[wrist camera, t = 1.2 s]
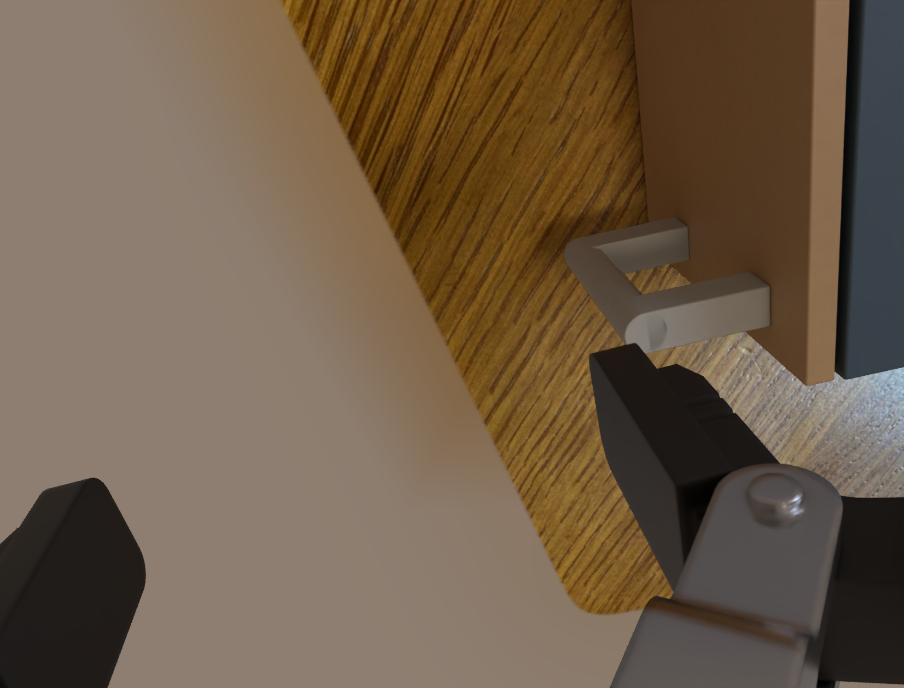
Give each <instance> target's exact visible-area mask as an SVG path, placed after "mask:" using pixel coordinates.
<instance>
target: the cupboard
mask: <svg viewBox="0 0 904 688" xmlns="http://www.w3.org/2000/svg"><path fill="white" fill-rule="evenodd" d="M902 367H904V0H849V23H848V48H847V73H846V98H845V122H844V147H843V172H842V196H841V221H840V246H839V271H838V295H837V320H836V345H835V370H834V371H835V372H836V373H837V374H839V375H840V376H841V377H842V378H843V379H852V378H856V377H861V376H865V375H870V374H875V373H879V372H884V371H888V370H893V369H897V368H902Z"/></svg>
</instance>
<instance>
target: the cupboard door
mask: <svg viewBox="0 0 904 688" xmlns="http://www.w3.org/2000/svg"><path fill="white" fill-rule="evenodd" d="M631 3H632V16H633V28H634V41H635V54H636V67H637V80H638V93H639V106H640V119H641V132H642V144H643V157H644V170H645V183H646V196H647V209H648V222H649V223H644V224H640V225H635V226H630V227H626V228H621V229H617V230H612V231H607V232H603V233H598V234H594V235H589V236H585V237H579V238H576V239H574V240H572V241H571V242H570V243H569V244H568V245H567V247H566V249H565V252H564V260H565V262H566V264H567V265H568V267H569V268H570V269H571V271H572V272H573V273H574V275H575V276H576V278H577V279H578V280H579V282H580V283H581V284H582V286H583V287H584V288H585V290H586V291H587V292H588V294H589V295H590V297H591V298H592V299H593V301H594V302H595V303H596V305H597V306H598V307H599V309H600V310H601V311H602V313H603V314H604V315H605V317H606V318H607V320H608V321H609V322H610V324H611V325H612V326H613V328H614V329H615V330H616V332H617V333H618V334H619V336H620V337H621V339H622V340H623V341H624V343H625V344H626V345H627V344H631V343H637V344H638V345H639V346H640V348H641V349H642V350H643V352H644V353H645V354H646V353H650V352H654V351H659V350H663V349H668V348H672V347H677V346H681V345H686V344H690V343H695V342H700V341H704V340H709V339H713V338H718V337H722V336H727V335H731V334H736V333H740V332H746V333H747V334H749V335H750V336H751V337H752V338H753V339H754V340H755V341H756V342H757V343H759V344H760V345H761V346H762V347H763V348H764V349H765V350H766V351H768V352H769V353H770V354H771V355H772V356H773V357H774V358H775V359H777V360H778V361H779V362H780V363H781V364H782V365H783V366H784V367H785V368H787V369H788V370H789V371H790V372H791V373H792V374H793V375H794V376H796V377H797V378H798V379H799V380H800V381H801V382H802V383H803V384H805V385H806V386H809V385H814V384H818V383H823V382H828V381H832V380H834V370H835V345H836V320H837V295H838V271H839V246H840V221H841V196H842V172H843V147H844V122H845V98H846V73H847V48H848V23H849V0H631ZM667 264H670V265H671V266H672V267H673V268H675V269H676V270H677V271H678V272H679V273H680V274H681V275H682V276H684V277H685V278H686V279H687V280H688V281H689V282H690V283H691V284H689V285H685V286H680V287H676V288H671V289H667V290H662V291H658V292H653V293H648V294H644V295H642V294H641V292H640V291H639V290H638V289H637V288H636V287H635V286H634V285H633V284H632V283H631V282H630V280H629V279H628V278H627V277H626V276H625V275H624V274H626V273H630V272H635V271H639V270H644V269H649V268H653V267H658V266H662V265H667Z"/></svg>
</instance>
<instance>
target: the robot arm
mask: <svg viewBox="0 0 904 688" xmlns="http://www.w3.org/2000/svg"><path fill="white" fill-rule="evenodd" d="M589 365H590V372H591V378H592V385H593V391H594V397H595V403H596V409H597V415H598V422H599V428H600V434H601V439H602V443H603V448H604V451H605V455H606V458H607V461H608V464H609V466H610V469H611V471H612V473H613V475H614V477H615V479H616V481H617V483H618V485H619V487H620V489H621V491H622V493H623V495H624V497H625V499H626V501H627V502H628V504H629V506H630V508H631V510H632V512H633V514H634V516H635V518H636V520H637V522H638V524H639V526H640V528H641V530H642V532H643V534H644V536H645V537H646V539H647V541H648V543H649V545H650V547H651V549H652V551H653V553H654V555H655V557H656V559H657V561H658V563H659V565H660V567H661V569H662V571H663V573H664V574H665V576H666V578H667V580H668V582H669V584H670V586H671V588H672V590H673V592H674V593H673V595H672V597H671V598H670V599H667V598H663V597H659V596H654V597H653V598H651V599H650V600H649V602H648V603H647V605H646V606H645V608H644V610H643V612H642V614H641V616H640V619H639V621H638V624H637V626H636V628H635V630H634V632H633V635H632V637H631V639H630V642H629V644H628V646H627V649H626V651H625V654H624V656H623V658H622V661H621V663H620V665H619V667H618V670H617V672H616V674H615V677H614V679H613V681H612V684H611V686H610V688H839V684H840V681H846V682H865V683H886V684H904V497H896V498H855V497H846V496H840V495H839V493H838V491H837V490H836V488H835V487H834V486H833V485H832V484H831V483H830V482H828V481H827V480H826V479H825V478H823V477H821V476H820V475H818V474H816V473H814V472H812V471H809V470H807V469H804V468H800V467H797V466H792V465H787V464H780V463H779V462H778V461H777V459H776V458H775V457H774V456H773V455H772V454H771V453H770V451H769V450H768V449H767V448H766V447H765V446H764V445H763V443H762V442H761V441H760V440H759V439H758V438H757V437H756V436H755V434H754V433H753V432H752V431H751V430H750V429H749V428H748V426H747V425H746V424H745V423H744V422H743V421H742V420H741V418H740V417H739V416H738V415H737V414H736V413H733V411H732V408H731V407H730V406H729V405H728V404H727V403H726V401H725V400H724V399H723V398H720V396H719V394H718V392H717V391H716V390H715V389H714V388H713V387H712V386H711V384H710V383H709V382H708V381H707V380H706V379H705V378H704V376H702V375H700V374H697V373H695V372H693V371H691V370H689V369H687V368H684V367H682V366H680V365H678V364H675V365H671V366H667V367H663V368H659V369H657V368H656V367H655V366H654V365H653V363H652V362H651V361H650V359H649V358H648V357H647V356H646V354H645V353H644V352H643V350H642V349H641V348H640V346H639V345H638V344H637V343H631V344H627V345H623V346H619V347H615V348H611V349H607V350H603V351H600V352H596V353H592V354H590V356H589ZM145 579H146V571H145V563H144V559H143V555H142V552H141V550H140V548H139V546H138V544H137V542H136V540H135V539H134V537H133V535H132V533H131V531H130V529H129V527H128V526H127V524H126V522H125V520H124V518H123V516H122V514H121V512H120V511H119V509H118V507H117V505H116V503H115V501H114V499H113V498H112V496H111V494H110V492H109V490H108V489H107V487H106V486H105V484H104V483H103V482H101V480H99V479H97V478H89V479H85V480H81V481H77V482H73V483H69V484H65V485H61V486H57V487H54V488H49V489H46V490H45V491H43V492H42V493H41V495H40V496H39V498H38V499H37V501H36V502H35V504H34V505H33V507H32V508H31V510H30V511H29V513H28V514H27V516H26V518H25V519H24V521H23V522H22V524H21V526H20V527H19V528H17V529H16V530H15V531H14V532H13V533H12V534H11V535H9V536H8V537H7V538H6V539H5V540H4V541H3V542H2V543H1V544H0V688H107V687H108V685H109V682H110V680H111V677H112V674H113V671H114V668H115V666H116V663H117V661H118V658H119V655H120V653H121V650H122V647H123V644H124V642H125V639H126V636H127V633H128V631H129V628H130V626H131V623H132V620H133V617H134V614H135V612H136V609H137V607H138V604H139V601H140V598H141V596H142V593H143V590H144V587H145Z"/></svg>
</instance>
